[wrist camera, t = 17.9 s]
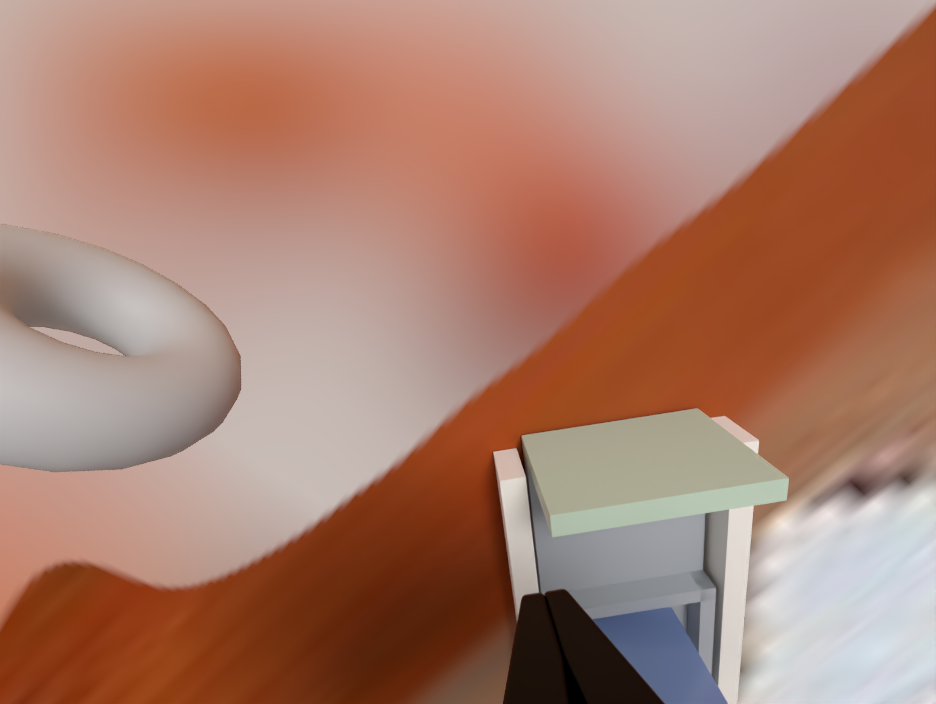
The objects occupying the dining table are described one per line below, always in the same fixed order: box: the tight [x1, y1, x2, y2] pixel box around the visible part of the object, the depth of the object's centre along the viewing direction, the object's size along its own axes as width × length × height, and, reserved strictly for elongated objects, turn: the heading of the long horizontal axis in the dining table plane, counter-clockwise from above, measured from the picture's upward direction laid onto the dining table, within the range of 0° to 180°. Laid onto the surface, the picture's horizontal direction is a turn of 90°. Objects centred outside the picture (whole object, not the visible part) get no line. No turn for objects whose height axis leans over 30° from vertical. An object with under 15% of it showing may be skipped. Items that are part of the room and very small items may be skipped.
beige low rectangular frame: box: [493, 416, 759, 704], centre depth 24 cm, size 19×12×2 cm, turn 8°
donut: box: [0, 224, 241, 472], centre depth 14 cm, size 10×4×10 cm, turn 52°
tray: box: [521, 408, 789, 674], centre depth 22 cm, size 18×9×6 cm, turn 8°
